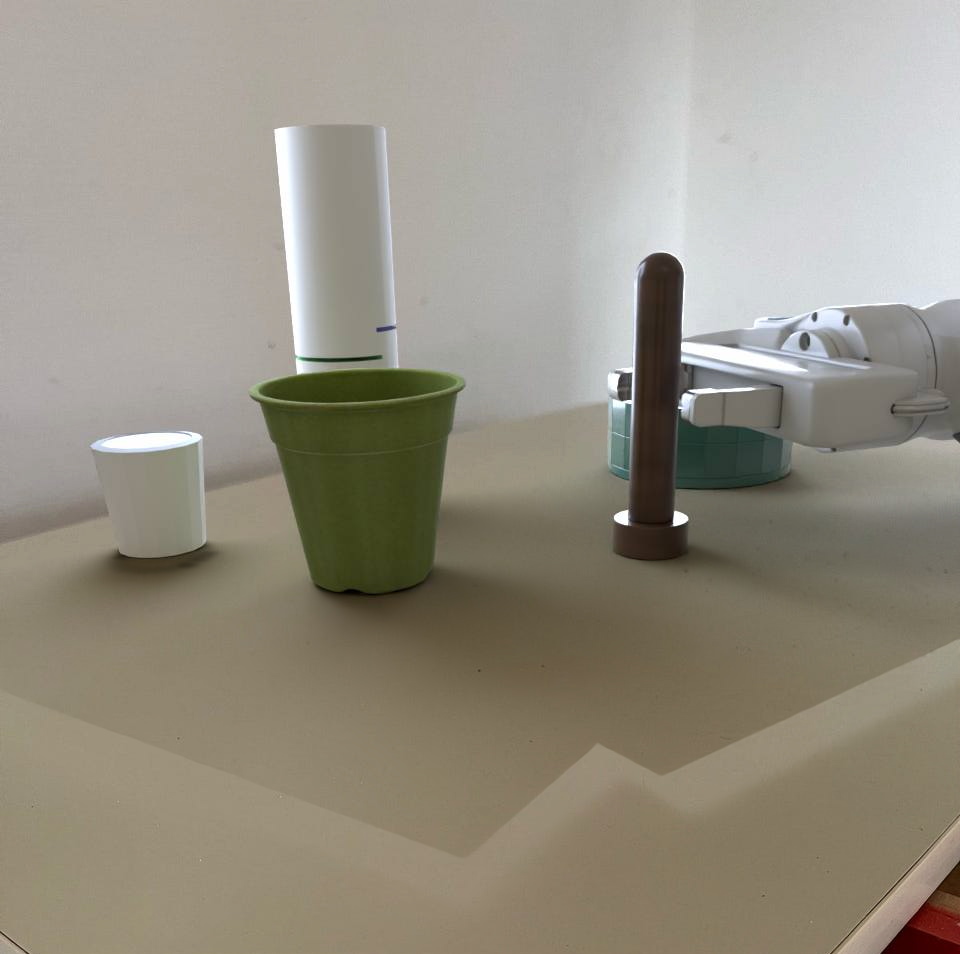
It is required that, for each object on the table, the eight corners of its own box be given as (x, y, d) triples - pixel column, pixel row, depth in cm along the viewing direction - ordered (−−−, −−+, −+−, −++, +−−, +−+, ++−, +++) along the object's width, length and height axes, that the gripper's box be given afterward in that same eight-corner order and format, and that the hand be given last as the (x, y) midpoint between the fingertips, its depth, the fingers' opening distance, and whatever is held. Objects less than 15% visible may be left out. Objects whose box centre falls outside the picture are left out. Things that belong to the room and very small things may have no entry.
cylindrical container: (425, 499, 77) (407, 128, 68) (366, 522, 72) (337, 122, 62) (350, 488, 81) (324, 135, 71) (289, 510, 75) (251, 130, 66)
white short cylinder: (158, 566, 64) (140, 454, 61) (85, 551, 67) (66, 444, 64) (237, 538, 69) (224, 433, 66) (166, 525, 72) (151, 425, 70)
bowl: (690, 441, 94) (694, 374, 92) (827, 467, 83) (835, 392, 81) (571, 466, 86) (572, 393, 84) (705, 499, 75) (710, 416, 73)
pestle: (648, 533, 67) (659, 249, 61) (702, 549, 64) (719, 250, 57) (597, 547, 65) (602, 253, 58) (650, 564, 61) (662, 253, 55)
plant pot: (227, 590, 59) (201, 391, 55) (359, 537, 68) (346, 363, 64) (388, 627, 53) (374, 407, 49) (510, 564, 62) (507, 373, 58)
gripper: (961, 462, 56) (739, 488, 52) (754, 406, 74) (577, 422, 70) (979, 343, 54) (748, 361, 50) (760, 315, 72) (578, 326, 68)
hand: (647, 396), depth 60 cm, fingers open, 8 cm apart
